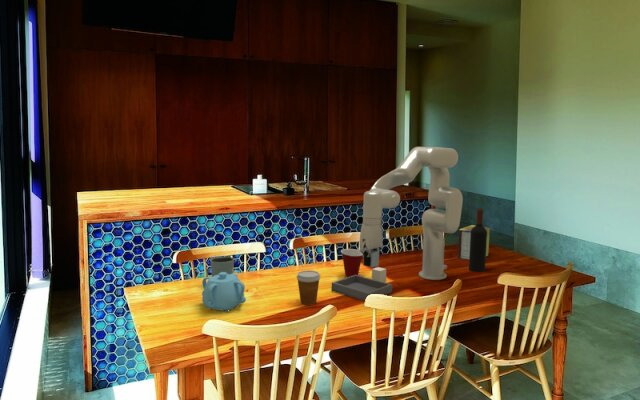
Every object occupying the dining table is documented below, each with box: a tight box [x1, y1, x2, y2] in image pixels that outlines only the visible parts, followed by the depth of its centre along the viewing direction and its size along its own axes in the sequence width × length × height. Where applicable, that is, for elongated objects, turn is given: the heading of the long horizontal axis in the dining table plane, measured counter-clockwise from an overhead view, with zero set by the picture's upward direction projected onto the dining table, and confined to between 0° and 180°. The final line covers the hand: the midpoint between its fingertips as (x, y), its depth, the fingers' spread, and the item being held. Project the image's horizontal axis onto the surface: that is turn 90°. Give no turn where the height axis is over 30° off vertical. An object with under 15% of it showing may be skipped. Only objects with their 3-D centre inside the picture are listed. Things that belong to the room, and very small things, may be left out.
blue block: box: [362, 249, 380, 268], centre depth 218 cm, size 4×4×6 cm
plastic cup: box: [340, 248, 363, 278], centre depth 245 cm, size 11×11×12 cm
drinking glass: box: [209, 255, 235, 277], centre depth 231 cm, size 10×10×12 cm
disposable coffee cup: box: [296, 270, 321, 306], centre depth 210 cm, size 10×10×12 cm
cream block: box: [371, 266, 387, 283], centre depth 237 cm, size 4×4×6 cm
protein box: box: [457, 224, 491, 261], centre depth 279 cm, size 10×15×16 cm
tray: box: [331, 274, 393, 302], centre depth 224 cm, size 16×20×4 cm
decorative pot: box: [201, 272, 247, 312], centre depth 206 cm, size 16×16×14 cm
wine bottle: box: [468, 208, 487, 273], centre depth 254 cm, size 8×8×30 cm
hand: (370, 264), depth 219 cm, fingers closed on blue block, 4 cm apart
